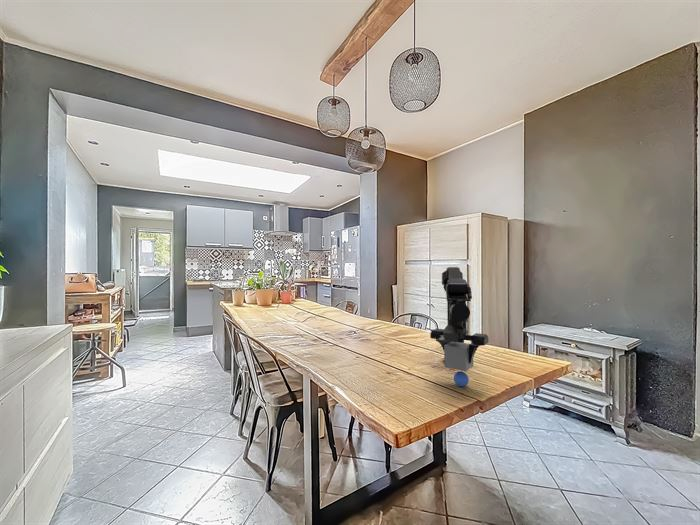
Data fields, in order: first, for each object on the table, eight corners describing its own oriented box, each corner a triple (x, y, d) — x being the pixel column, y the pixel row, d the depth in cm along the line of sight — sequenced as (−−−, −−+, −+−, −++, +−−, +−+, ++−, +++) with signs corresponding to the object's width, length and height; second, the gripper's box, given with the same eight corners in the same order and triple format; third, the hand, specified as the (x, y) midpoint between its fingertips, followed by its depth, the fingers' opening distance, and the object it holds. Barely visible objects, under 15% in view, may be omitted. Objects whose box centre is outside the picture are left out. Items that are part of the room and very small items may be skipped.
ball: (455, 367, 110) (456, 380, 111) (451, 374, 106) (452, 387, 107) (469, 370, 107) (471, 383, 108) (465, 377, 103) (467, 390, 104)
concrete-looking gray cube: (444, 367, 106) (444, 345, 106) (452, 362, 111) (452, 341, 112) (466, 371, 101) (465, 348, 101) (473, 366, 107) (473, 344, 107)
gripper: (423, 317, 106) (423, 361, 106) (478, 322, 94) (479, 372, 94) (436, 313, 115) (437, 354, 114) (488, 317, 103) (489, 364, 103)
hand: (458, 361), depth 106 cm, fingers closed on concrete-looking gray cube, 7 cm apart
